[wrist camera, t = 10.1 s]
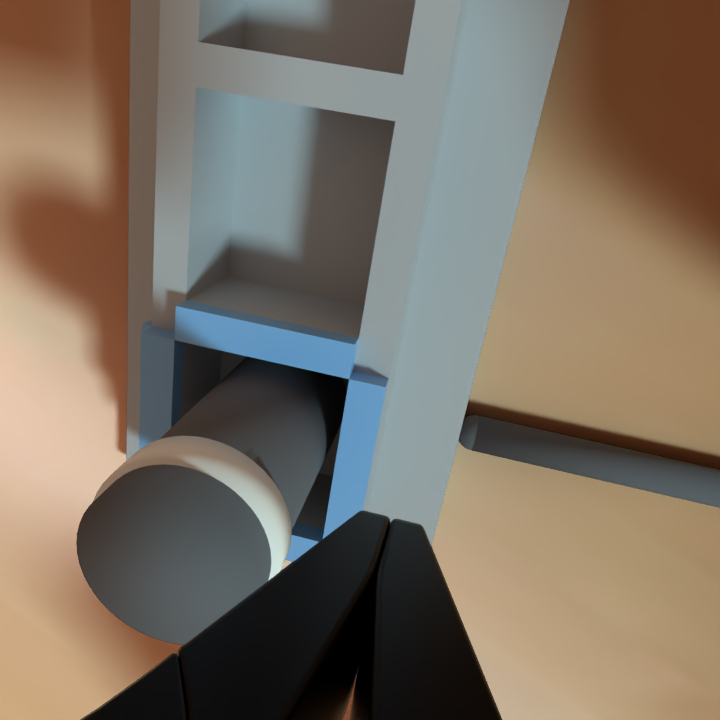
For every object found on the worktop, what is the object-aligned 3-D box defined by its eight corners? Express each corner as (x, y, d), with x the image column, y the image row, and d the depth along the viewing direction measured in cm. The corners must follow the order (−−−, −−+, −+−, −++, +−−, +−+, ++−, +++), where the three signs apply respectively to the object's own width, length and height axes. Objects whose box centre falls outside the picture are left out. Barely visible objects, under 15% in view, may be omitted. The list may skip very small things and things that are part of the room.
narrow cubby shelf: (628, -247, 14) (694, -411, 10) (431, 535, 23) (421, 628, 18) (153, -292, 15) (30, -453, 11) (139, 463, 24) (67, 533, 20)
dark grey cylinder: (361, 352, 20) (280, 507, 11) (340, 464, 21) (254, 672, 13) (237, 323, 20) (69, 452, 12) (225, 435, 21) (69, 619, 13)
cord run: (769, 474, 19) (787, 495, 18) (755, 504, 20) (771, 526, 19) (461, 405, 21) (460, 421, 19) (453, 435, 21) (452, 452, 20)
